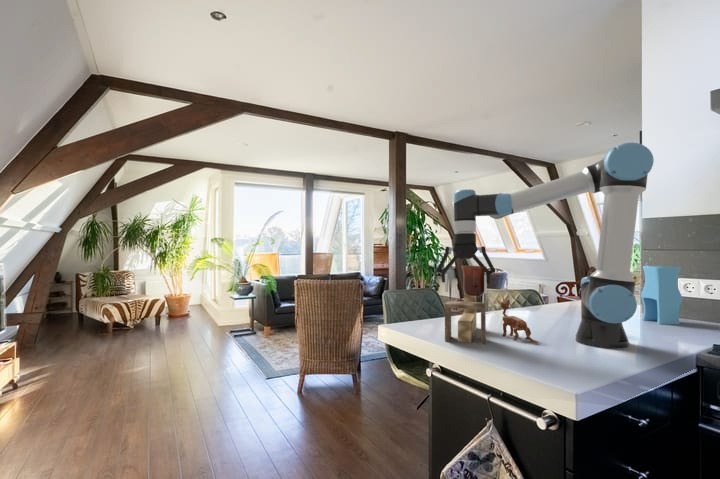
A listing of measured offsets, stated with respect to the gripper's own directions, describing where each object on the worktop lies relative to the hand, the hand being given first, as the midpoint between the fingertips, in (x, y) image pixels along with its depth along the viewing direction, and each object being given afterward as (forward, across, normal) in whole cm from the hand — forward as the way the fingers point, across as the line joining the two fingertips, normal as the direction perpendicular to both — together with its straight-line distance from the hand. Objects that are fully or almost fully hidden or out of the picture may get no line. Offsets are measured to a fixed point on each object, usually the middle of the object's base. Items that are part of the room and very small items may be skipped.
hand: (465, 292), depth 130 cm
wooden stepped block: (+17, 0, -10) cm, 20 cm away
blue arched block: (+18, -77, -58) cm, 98 cm away
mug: (+1, -3, 0) cm, 3 cm away
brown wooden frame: (+17, 0, 0) cm, 17 cm away
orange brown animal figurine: (+18, -18, -8) cm, 26 cm away
